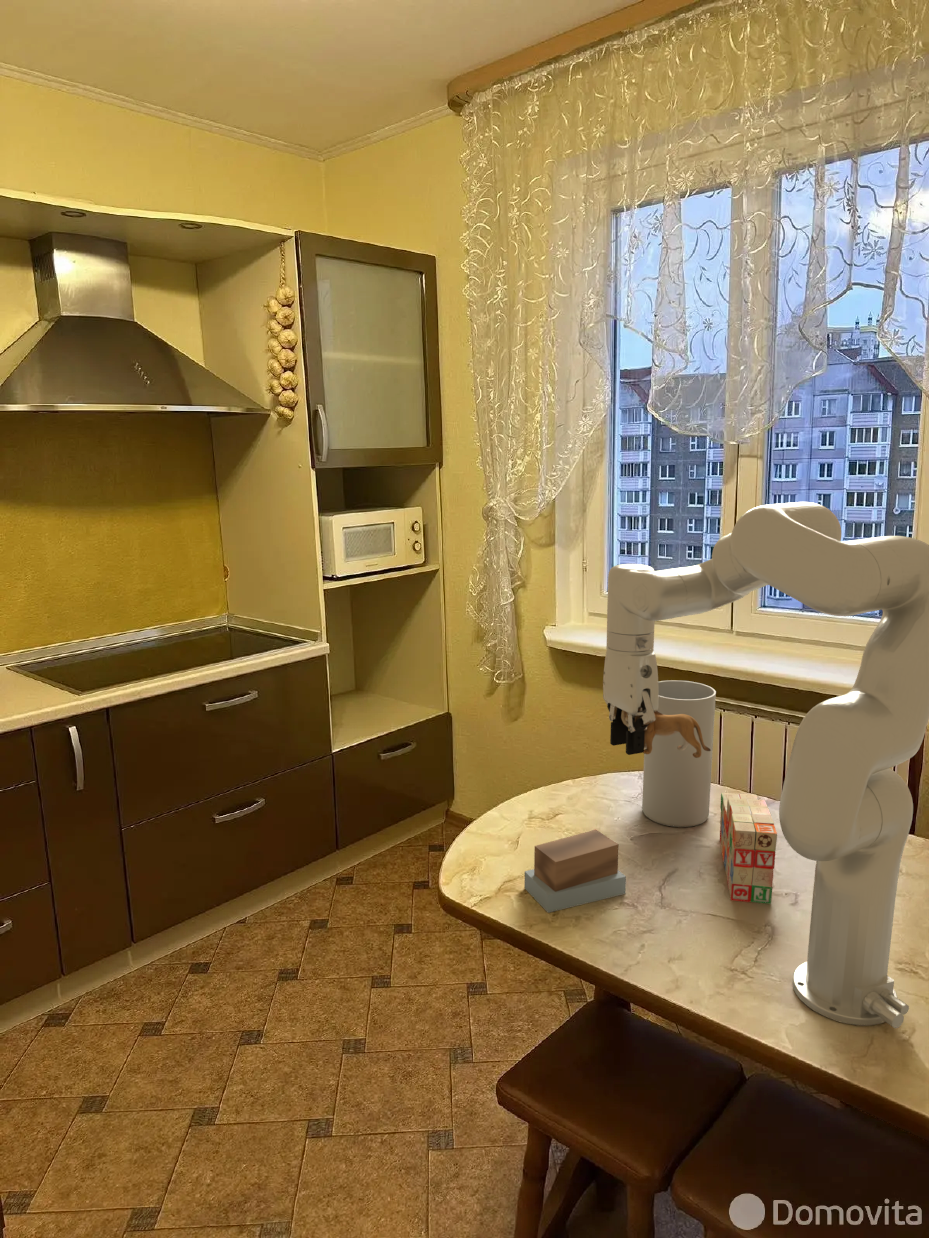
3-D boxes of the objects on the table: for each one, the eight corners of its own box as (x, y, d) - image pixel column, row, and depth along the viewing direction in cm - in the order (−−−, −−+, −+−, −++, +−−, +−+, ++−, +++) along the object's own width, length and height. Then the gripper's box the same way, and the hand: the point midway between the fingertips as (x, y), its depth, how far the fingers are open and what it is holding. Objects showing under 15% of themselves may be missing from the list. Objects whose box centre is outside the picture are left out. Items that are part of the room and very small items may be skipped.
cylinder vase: (631, 817, 166) (635, 692, 160) (657, 795, 176) (662, 676, 170) (694, 834, 159) (701, 704, 153) (718, 810, 169) (725, 687, 163)
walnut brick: (617, 872, 139) (618, 844, 138) (555, 891, 134) (555, 861, 133) (595, 857, 144) (595, 829, 143) (534, 874, 139) (534, 845, 138)
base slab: (625, 893, 139) (626, 876, 138) (548, 912, 133) (548, 894, 133) (598, 870, 146) (599, 854, 145) (524, 888, 141) (524, 871, 140)
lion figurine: (621, 756, 142) (622, 704, 141) (619, 745, 148) (620, 694, 146) (713, 759, 141) (715, 706, 139) (708, 747, 146) (710, 696, 144)
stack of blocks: (718, 839, 157) (722, 775, 154) (754, 842, 156) (758, 778, 153) (730, 901, 137) (735, 828, 134) (772, 905, 135) (777, 832, 133)
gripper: (680, 650, 134) (676, 762, 138) (621, 628, 149) (619, 730, 153) (639, 655, 131) (635, 769, 135) (583, 632, 146) (581, 736, 150)
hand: (626, 747), depth 144 cm, fingers closed on lion figurine, 3 cm apart
